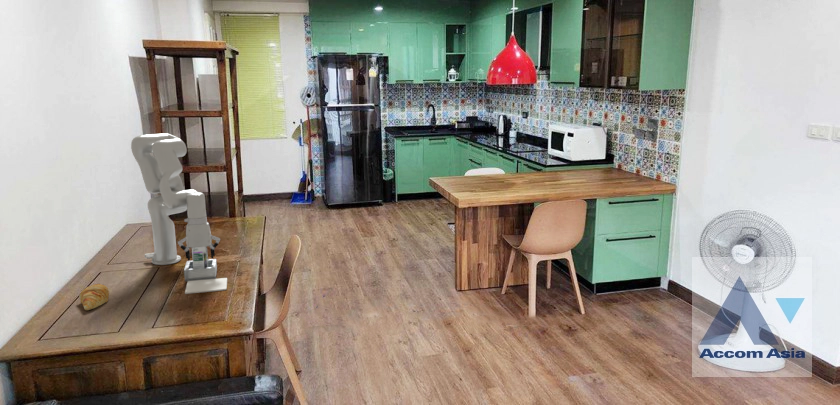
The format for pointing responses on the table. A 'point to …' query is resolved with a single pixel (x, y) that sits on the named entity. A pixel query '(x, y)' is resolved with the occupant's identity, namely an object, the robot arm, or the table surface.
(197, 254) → the syrup box
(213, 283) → the mat
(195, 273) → the gray rectangular frame
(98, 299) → the croissant
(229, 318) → the table surface
